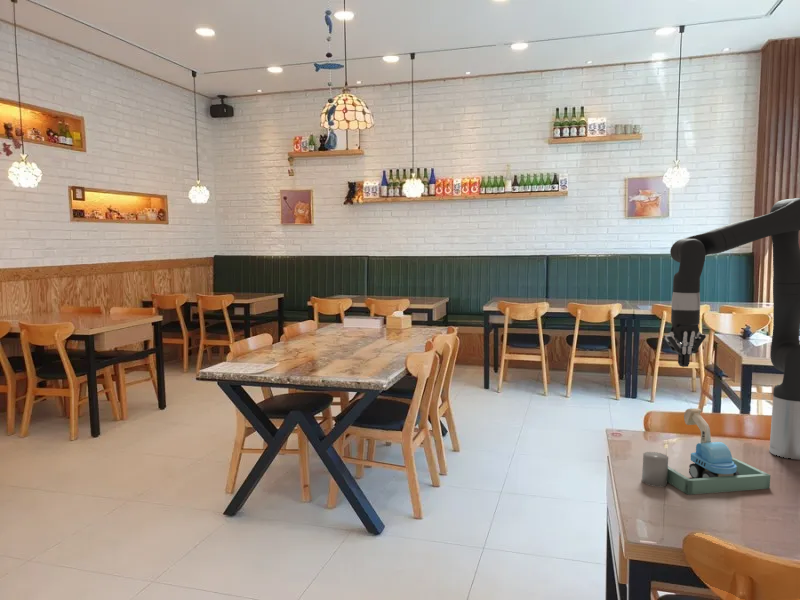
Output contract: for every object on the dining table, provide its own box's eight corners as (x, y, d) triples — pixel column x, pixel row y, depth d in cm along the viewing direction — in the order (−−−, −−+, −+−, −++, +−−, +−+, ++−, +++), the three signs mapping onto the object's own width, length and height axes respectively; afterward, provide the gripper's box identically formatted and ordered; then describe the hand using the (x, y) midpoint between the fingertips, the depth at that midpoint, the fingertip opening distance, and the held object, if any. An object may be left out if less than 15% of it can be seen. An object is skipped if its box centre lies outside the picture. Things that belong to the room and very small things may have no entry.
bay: (732, 469, 163) (733, 457, 162) (769, 488, 150) (770, 475, 150) (656, 475, 158) (657, 462, 158) (687, 494, 146) (688, 481, 145)
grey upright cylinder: (657, 476, 157) (659, 451, 157) (671, 485, 151) (673, 459, 151) (637, 478, 156) (638, 452, 155) (650, 487, 150) (652, 460, 150)
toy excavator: (701, 465, 166) (705, 405, 164) (743, 490, 149) (747, 423, 148) (673, 466, 165) (676, 406, 163) (712, 491, 148) (716, 424, 146)
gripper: (696, 305, 177) (694, 362, 178) (657, 307, 174) (655, 365, 176) (714, 308, 169) (712, 367, 171) (674, 309, 167) (672, 370, 168)
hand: (683, 366), depth 173 cm, fingers closed
